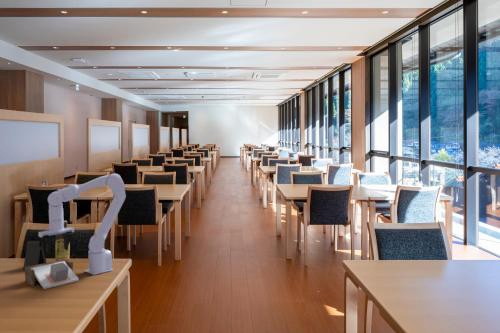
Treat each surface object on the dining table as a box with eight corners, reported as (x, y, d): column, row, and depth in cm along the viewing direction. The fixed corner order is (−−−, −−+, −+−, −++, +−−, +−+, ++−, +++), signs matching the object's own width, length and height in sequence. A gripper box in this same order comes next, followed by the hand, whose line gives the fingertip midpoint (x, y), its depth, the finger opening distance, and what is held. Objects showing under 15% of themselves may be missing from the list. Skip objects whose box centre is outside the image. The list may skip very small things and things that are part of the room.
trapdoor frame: (65, 272, 201) (65, 259, 200) (73, 276, 196) (72, 262, 195) (25, 281, 189) (24, 267, 188) (32, 285, 184) (31, 270, 183)
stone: (61, 272, 190) (63, 262, 188) (66, 279, 186) (68, 268, 185) (49, 275, 186) (51, 264, 184) (54, 282, 183) (56, 271, 181)
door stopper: (35, 270, 206) (34, 243, 205) (23, 269, 206) (22, 243, 206) (46, 264, 215) (45, 239, 214) (34, 264, 215) (33, 239, 215)
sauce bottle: (56, 265, 213) (54, 222, 212) (54, 262, 219) (53, 220, 218) (71, 263, 216) (69, 221, 215) (69, 260, 222) (68, 219, 221)
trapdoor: (30, 269, 188) (30, 267, 188) (64, 263, 198) (64, 260, 198) (43, 289, 179) (44, 286, 179) (78, 280, 189) (78, 278, 189)
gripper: (42, 223, 189) (44, 255, 189) (77, 218, 199) (77, 249, 200) (36, 221, 194) (37, 252, 194) (69, 216, 204) (70, 246, 205)
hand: (57, 251), depth 197 cm, fingers open, 7 cm apart
